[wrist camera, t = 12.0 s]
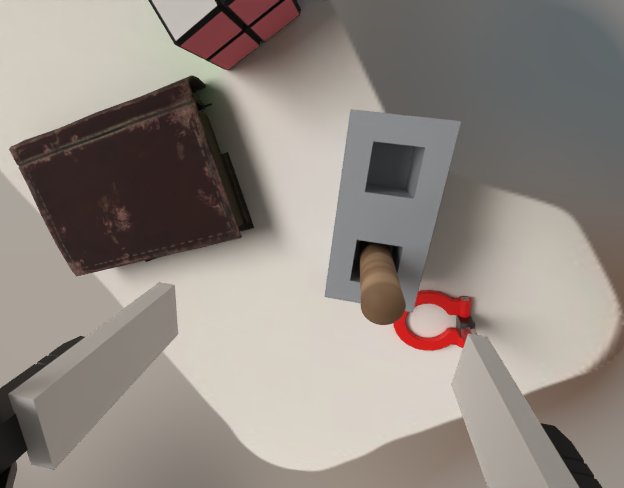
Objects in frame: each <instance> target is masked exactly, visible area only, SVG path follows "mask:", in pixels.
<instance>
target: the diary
mask: <svg viewBox="0 0 624 488" xmlns="http://www.w3.org/2000/svg"><path fill="white" fill-rule="evenodd" d="M205 87H206V86H205V84H204V83H203V82H202V81H201V80H200V79H199V78H197V77H195V76H189V77H187V78H184V79H182V80H180V81H177V82H175V83H172V84H170V85H167V86H165V87H163V88H160V89H158V90H155V91H153V92H151V93H148V94H146V95H143V96H141V97H138V98H135V99H133V100H130V101H127V102H124V103H122V104H119V105H116V106H113V107H110V108H108V109H105V110H102V111H99V112H97V113H94V114H92V115H89V116H87V117H85V118H82V119H80V120H78V121H75V122H73V123H71V124H68V125H66V126H64V127H61V128H59V129H56V130H53V131H50V132H47V133H44V134H42V135H39V136H36V137H33V138H30V139H27V140H24V141H22V142H20V143H18V144H16V145H14V146H11V147H10V149H9V150H10V152H11V154H12V156H13V158H14V160H15V162H16V163H17V165H19V169H20V171H21V173H22V175H23V177H24V179H25V181H26V183H27V185H28V187H29V189H30V191H31V194H32V196H33V198H34V200H35V202H36V205H37V207H38V209H39V211H40V213H41V216H42V218H43V219H44V221H45V223H46V225H47V227H48V229H49V231H50V233H51V235H52V237H53V239H54V241H55V243H56V245H57V246H58V248H59V250H60V251H61V253H62V255H63V256H64V258H65V260H66V261H67V263H68V265H69V267H70V269H71V270H72V272H73V273H74V274H75V275H76V276H80V275H84V274H88V273H93V272H97V271H101V270H106V269H110V268H114V267H118V266H122V265H127V264H131V263H135V262H139V261H143V260H145V261H146V262H147V261H150V260H152V259H155V258H158V257H161V256H165V255H169V254H174V253H178V252H183V251H187V250H192V249H196V248H201V247H206V246H208V245H212V244H217V243H221V242H225V241H229V240H233V239H237V238H242V237H241V234H240V231H243V230H247V229H252V228H254V226H253V223H252V220H251V217H250V214H249V211H248V208H247V206H246V203H245V200H244V197H243V194H242V191H241V189H240V186H239V183H238V180H237V177H236V174H235V171H234V169H233V166H232V163H231V160H230V157H229V154H228V152H227V153H224V154H221V152H220V149H219V147H218V144H217V141H216V138H215V135H214V132H213V129H212V127H211V124H210V121H209V118H208V115H206V114H204V113H203V112H200V111H199V110H201V109H204V108H205V107H207V106H210V105H212V104H208V105H205V106H204V104H203V103H202V101H201V100H200V99H199V98H198V96H197V95H196V94H194V93H193V92H196V91H198V90H201V89H204V88H205Z"/></svg>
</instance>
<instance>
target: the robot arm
mask: <svg viewBox="0 0 624 488" xmlns="http://www.w3.org/2000/svg"><path fill="white" fill-rule="evenodd" d="M177 335H178V325H177V311H176V297H175V285H172V284H166V283H160V282H159V283H158V284H157V285H155V286H154V287H152V288H151V289H150V290H148V291H147V292H146V293H144V294H143V295H142V296H140V297H139V298H138V299H136V300H135V301H134V302H132V303H131V304H129V305H128V306H127V307H125V308H124V309H123V310H121V311H120V312H119V313H117V314H116V315H115V316H113V317H112V318H110V319H109V320H108V321H107V322H105V323H104V324H102V325H101V326H100V327H98V328H97V329H96V330H94V331H93V332H92V333H90V334H89V335H88V336H86V337H83V336H79V337H77V338H75V339H73V340H71V341H68V342H66V343H64V344H62V345H61V346H60V347H58V348H57V349H55V350H54V351H52V352H51V353H50V354H49V356H45V357H44V358H42V359H41V360H40V361H38V362H37V364H36V365H35V364H34V365H33V366H31V367H30V368H28V369H27V370H26V371H24V372H23V373H21V374H20V375H19V376H17V377H16V378H14V379H13V380H11V381H10V382H9V383H7V384H6V385H4V386H3V387H1V388H0V488H13V484H14V480H15V476H16V472H17V463H16V460H17V459H18V458H19V457H20V456H21V455H22V454H23V453H25V452H26V451H27V453H28V456H29V459H30V462H31V464H32V465H37V466H41V467H45V468H49V469H53V470H54V469H55V468H56V467H57V466H58V465H59V464H60V463H61V462H62V461H63V460H64V458H65V457H66V456H67V455H68V454H69V453H70V452H71V451H72V450H73V449H74V447H75V446H76V445H77V444H78V443H79V442H80V441H81V440H82V439H83V438H84V437H85V435H86V434H87V433H88V432H89V431H90V430H91V429H92V428H93V427H94V426H95V425H96V423H97V422H98V421H99V420H100V419H101V418H102V417H103V416H104V415H105V414H106V413H107V411H108V410H109V409H110V408H111V407H112V406H113V405H114V404H115V402H117V400H118V399H119V398H120V397H121V396H122V395H123V394H124V393H125V392H126V391H127V390H128V388H129V387H130V386H131V385H132V384H133V383H134V382H135V381H136V380H137V379H138V377H139V376H140V375H141V374H142V373H143V372H144V371H145V370H146V369H147V367H149V365H150V364H151V363H152V362H153V361H154V360H155V359H156V358H157V357H158V356H159V354H160V353H161V352H162V351H163V350H164V349H165V348H166V347H167V346H168V345H169V344H170V342H171V341H172V340H173V339H174V338H175V337H176V336H177ZM451 385H452V387H453V390H454V393H455V396H456V399H457V402H458V404H459V407H460V410H461V413H462V416H463V419H464V421H465V424H466V427H467V430H468V432H469V435H470V438H471V441H472V444H473V447H474V450H475V453H476V455H477V458H478V461H479V464H480V467H481V470H482V472H483V475H484V478H485V481H486V484H487V487H488V488H602V487H601V485H600V484H599V482H598V481H597V479H594V475H593V473H592V472H591V470H590V469H589V467H588V466H587V464H584V460H583V458H582V457H581V455H580V454H579V453H578V451H577V450H576V448H575V447H574V445H573V444H572V442H571V441H570V440H569V439H568V438H567V437H566V436H564V435H563V434H562V433H561V432H560V431H559V430H558V429H557V428H556V427H555V426H552V425H547V424H542V423H540V422H539V421H538V419H537V418H536V416H535V414H534V413H533V411H532V409H531V408H530V406H529V404H528V403H527V401H526V399H525V398H524V396H523V395H522V393H521V391H520V390H519V388H518V386H517V385H516V383H515V381H514V380H513V378H512V377H511V375H510V373H509V372H508V370H507V368H506V367H505V365H504V363H503V362H502V360H501V359H500V357H499V355H498V354H497V352H496V350H495V349H494V347H493V345H492V344H491V342H490V341H489V339H488V337H486V336H480V335H474V334H468V335H467V338H466V341H465V344H464V347H463V350H462V354H461V357H460V360H459V363H458V366H457V369H456V372H455V375H454V378H453V381H452V384H451Z"/></svg>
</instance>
